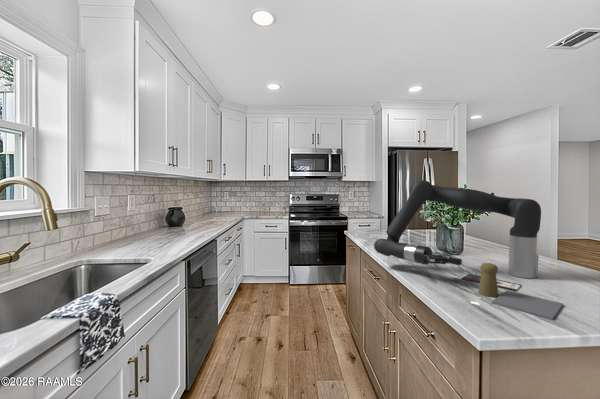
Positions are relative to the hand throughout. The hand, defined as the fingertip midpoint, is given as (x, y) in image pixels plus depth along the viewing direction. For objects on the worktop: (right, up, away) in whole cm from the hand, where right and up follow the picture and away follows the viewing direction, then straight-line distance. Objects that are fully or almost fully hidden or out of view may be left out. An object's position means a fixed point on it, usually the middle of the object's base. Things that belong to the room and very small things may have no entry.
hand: (460, 262), depth 107 cm
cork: (+6, -10, -7) cm, 13 cm away
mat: (+13, -10, -15) cm, 22 cm away
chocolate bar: (+15, -10, +6) cm, 19 cm away
